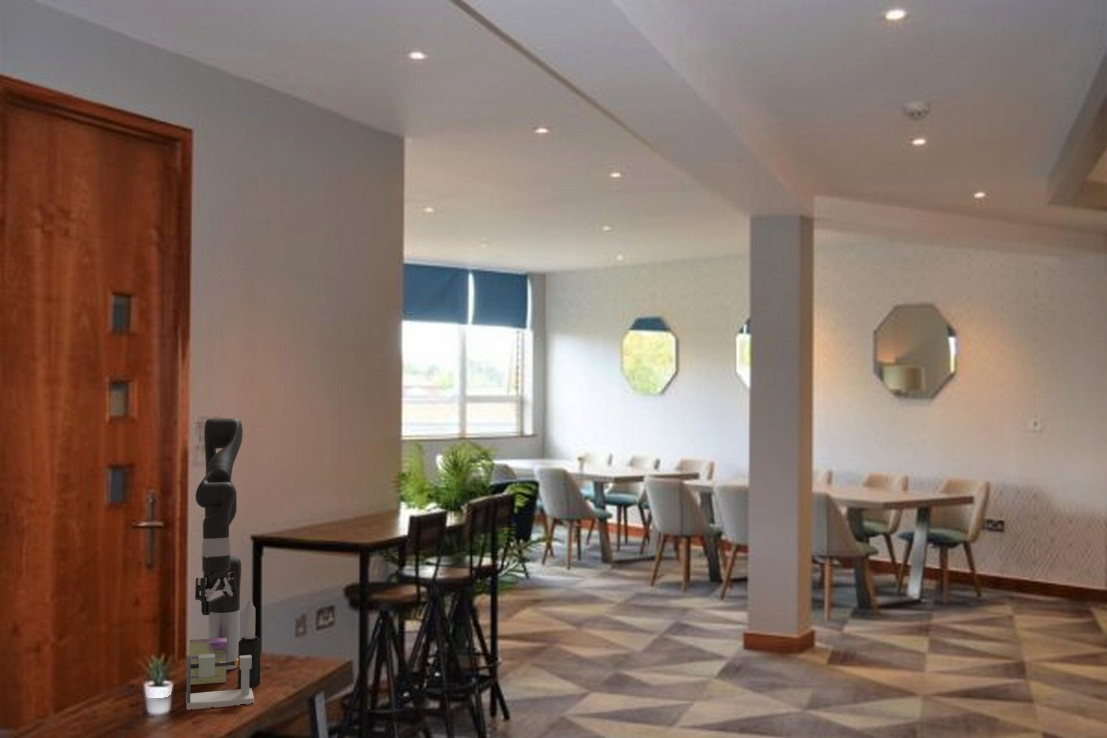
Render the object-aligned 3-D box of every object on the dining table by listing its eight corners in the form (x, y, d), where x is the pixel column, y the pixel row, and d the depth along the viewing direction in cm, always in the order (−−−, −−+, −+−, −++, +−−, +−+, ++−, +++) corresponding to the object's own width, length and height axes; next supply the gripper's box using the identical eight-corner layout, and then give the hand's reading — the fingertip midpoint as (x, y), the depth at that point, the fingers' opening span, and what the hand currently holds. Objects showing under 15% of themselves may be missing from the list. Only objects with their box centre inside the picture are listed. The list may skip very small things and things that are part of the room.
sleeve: (198, 673, 282) (198, 654, 282) (214, 672, 283) (214, 653, 283) (198, 677, 278) (199, 658, 278) (214, 675, 280) (214, 657, 280)
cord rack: (186, 699, 284) (186, 654, 284) (251, 693, 289) (251, 650, 290) (186, 709, 274) (187, 663, 274) (254, 703, 280) (254, 658, 280)
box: (226, 677, 306) (226, 636, 306) (226, 682, 300) (227, 641, 301) (188, 680, 303) (189, 639, 303) (188, 685, 297) (188, 643, 298)
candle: (252, 688, 295) (254, 598, 295) (236, 687, 296) (237, 598, 296) (261, 683, 300) (262, 595, 300) (245, 682, 301) (246, 594, 301)
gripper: (223, 551, 302) (223, 608, 301) (187, 556, 289) (187, 616, 288) (243, 551, 299) (244, 609, 298) (209, 556, 286) (209, 617, 285)
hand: (216, 612), depth 293 cm, fingers open, 8 cm apart
